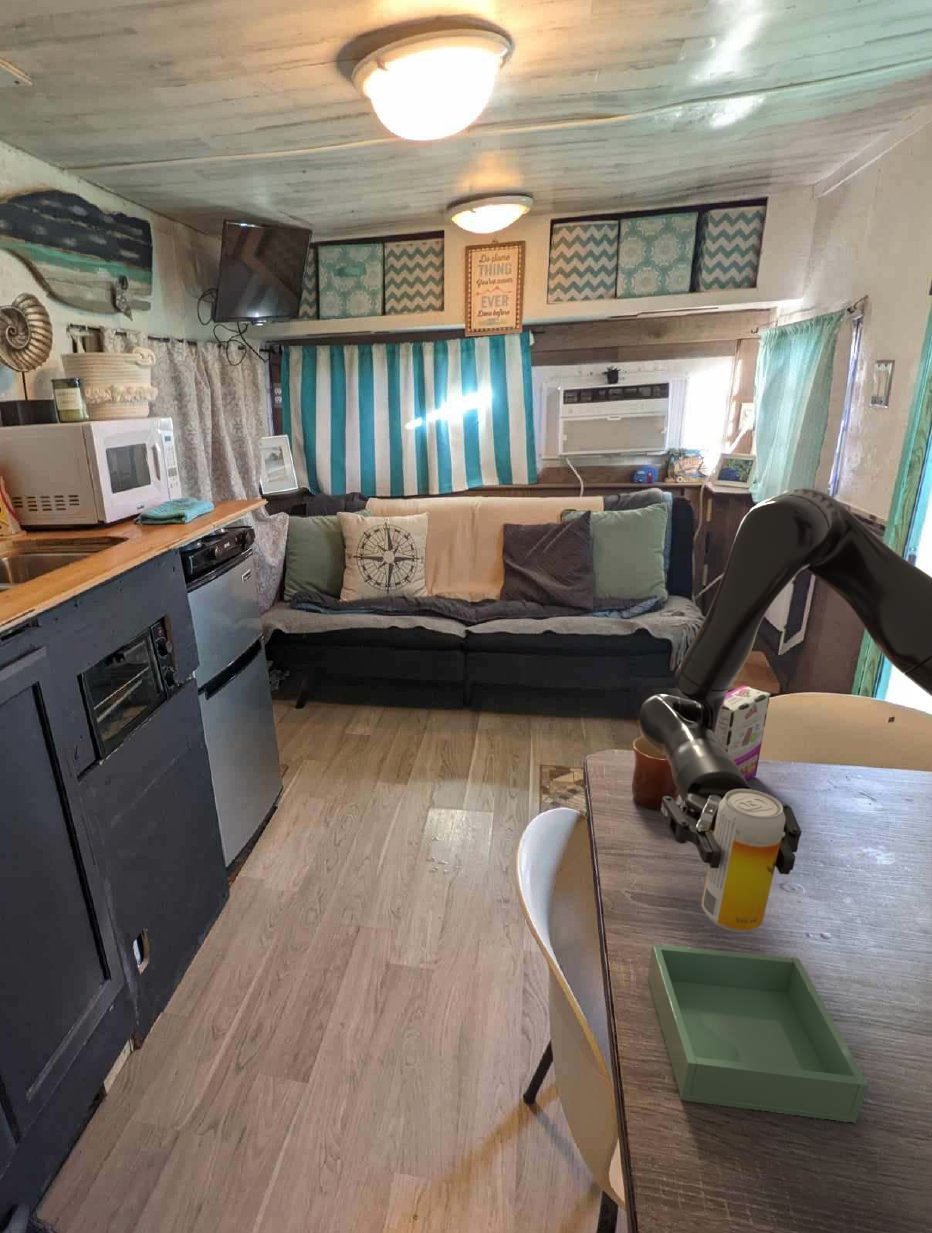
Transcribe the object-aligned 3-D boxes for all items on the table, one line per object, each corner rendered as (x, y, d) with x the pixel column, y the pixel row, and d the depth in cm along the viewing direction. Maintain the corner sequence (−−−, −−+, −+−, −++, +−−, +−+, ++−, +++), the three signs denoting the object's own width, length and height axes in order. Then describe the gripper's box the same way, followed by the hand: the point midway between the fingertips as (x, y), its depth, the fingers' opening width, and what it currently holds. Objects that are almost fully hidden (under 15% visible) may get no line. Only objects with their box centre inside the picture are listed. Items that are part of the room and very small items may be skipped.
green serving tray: (789, 992, 79) (798, 957, 77) (856, 1124, 65) (869, 1085, 63) (647, 978, 82) (652, 943, 80) (680, 1100, 68) (688, 1062, 66)
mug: (630, 812, 114) (636, 758, 111) (623, 784, 122) (629, 733, 118) (708, 818, 112) (718, 763, 108) (696, 790, 120) (704, 738, 116)
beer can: (775, 928, 75) (802, 812, 69) (728, 941, 73) (753, 824, 68) (731, 892, 80) (753, 782, 74) (688, 904, 79) (707, 792, 73)
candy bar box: (729, 765, 127) (744, 684, 121) (756, 776, 123) (773, 693, 117) (693, 784, 121) (706, 700, 115) (720, 796, 117) (735, 710, 111)
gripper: (650, 750, 86) (681, 829, 71) (776, 757, 83) (837, 840, 68) (643, 801, 89) (672, 886, 74) (765, 809, 86) (821, 900, 71)
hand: (751, 864), depth 71 cm, fingers closed on beer can, 6 cm apart
